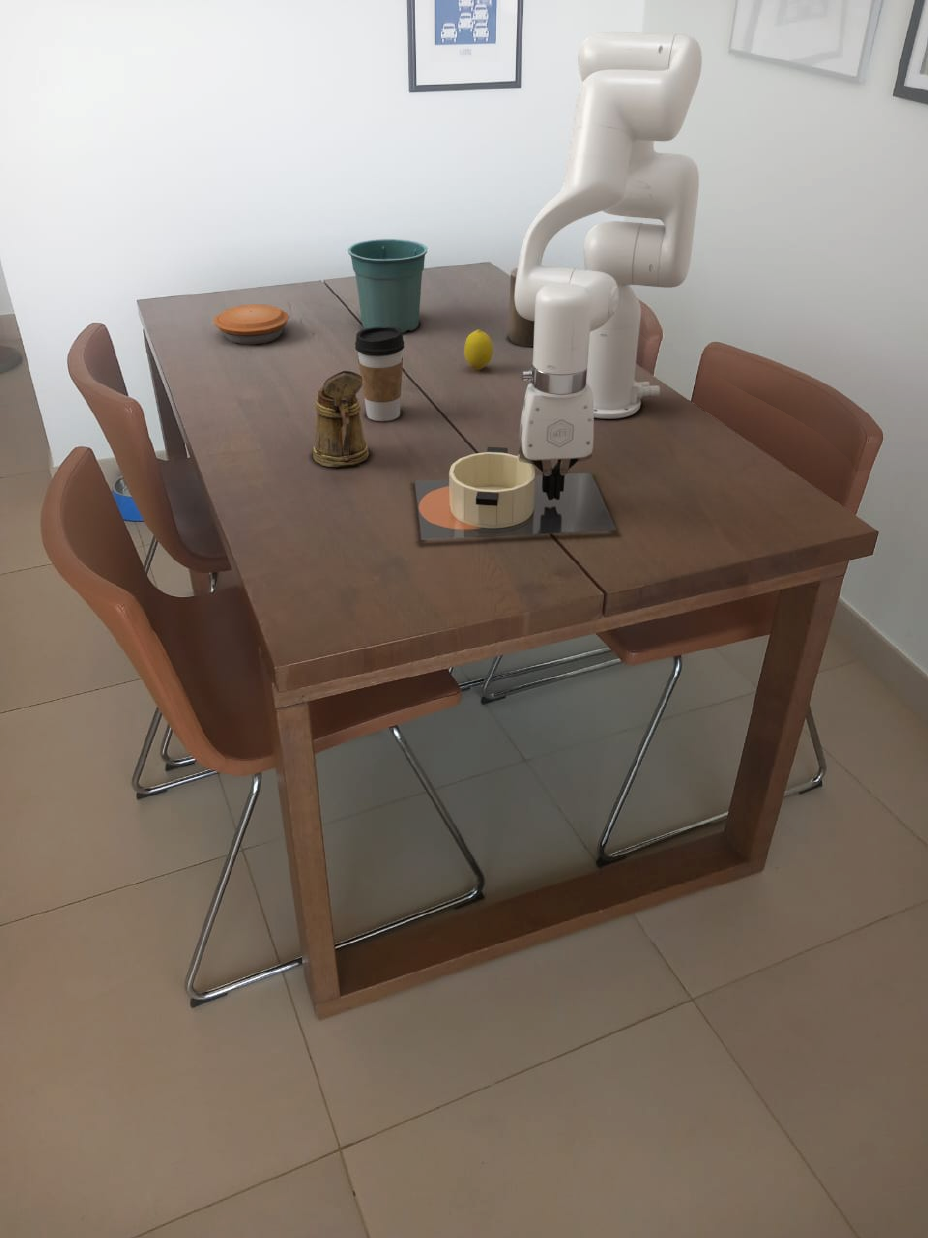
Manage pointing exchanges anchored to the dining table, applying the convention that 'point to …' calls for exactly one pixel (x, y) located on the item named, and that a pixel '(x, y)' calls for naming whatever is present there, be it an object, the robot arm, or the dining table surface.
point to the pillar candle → (519, 320)
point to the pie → (252, 323)
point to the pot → (491, 489)
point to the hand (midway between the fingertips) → (552, 495)
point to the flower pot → (389, 281)
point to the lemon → (478, 349)
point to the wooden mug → (340, 422)
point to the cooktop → (565, 515)
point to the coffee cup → (381, 370)
